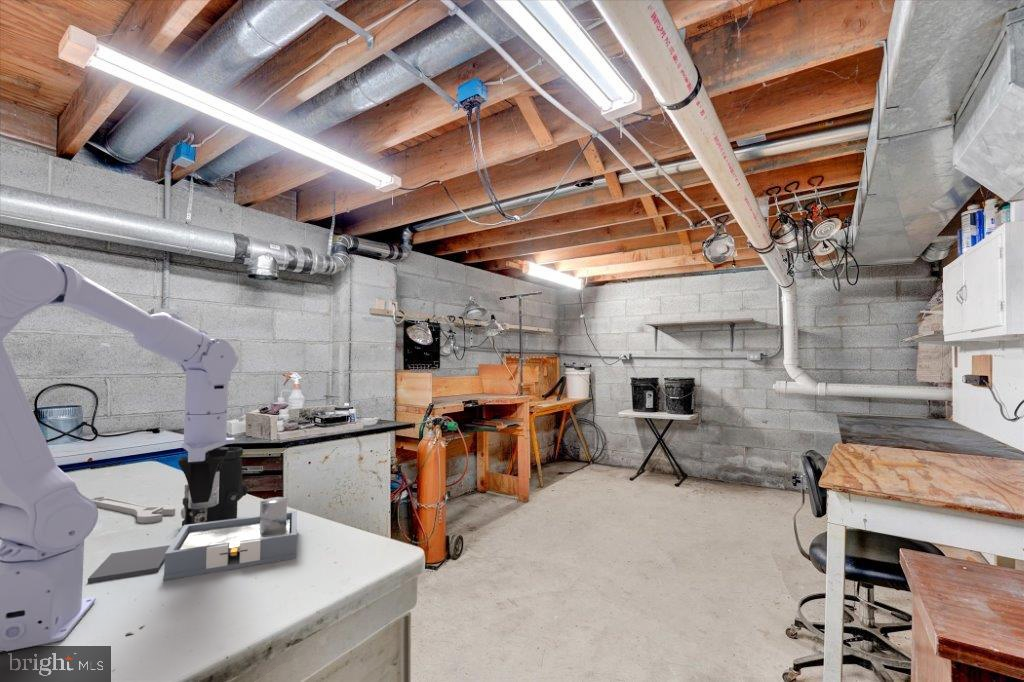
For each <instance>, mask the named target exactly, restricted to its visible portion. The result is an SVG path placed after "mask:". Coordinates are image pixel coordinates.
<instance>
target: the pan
mask: <svg viewBox="0 0 1024 682" xmlns="http://www.w3.org/2000/svg"><path fill="white" fill-rule="evenodd" d="M289 532H290V519H287V522H286V530H285V531H284V532H281V533H279V534H274V535H262V534H260V523H254V524H247V525H239V526H232V527H224V528H216V529H209V530H201V531H194V532H190V533H189V535H188V537H187V538H186V540H185V542H184V543H183V545H182V546H181V548H180V549H187V548H194V547H201V546H208V545H215V544H222V543H228V542H229V553H231V556H235V555H237V553H238V552H240V541H242V540H249V539H256V538H263V537H270V536H277V535H284V534H289Z"/></svg>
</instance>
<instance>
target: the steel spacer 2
mask: <svg viewBox="0 0 1024 682" xmlns="http://www.w3.org/2000/svg"><path fill="white" fill-rule="evenodd" d="M259 507H260V509H259V516H260V534H262V535H274V534H279V533H281V532H284V531H285V530H286V522H287V512H288V509H287V508H288V498H286V497H285V496H284V497H282V496H275V497H268V498H265V499H262V500H261V501H260V505H259Z"/></svg>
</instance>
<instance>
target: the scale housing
mask: <svg viewBox="0 0 1024 682" xmlns="http://www.w3.org/2000/svg"><path fill="white" fill-rule="evenodd" d="M297 517H298V511H297V510H294V511H293V510H292V511H287V519H290V532H289V534H284V535H277V536H270V537H263V538H256V539H249V540H242V541H240V552H238V553H237V555H235V556H231V553H229V542H228V543H222V544H215V545H208V546H201V547H194V548H187V549H180V548H181V546H182V545H183V543H184V542H185V540H186V538H187V537H188V535H189V533H190V532H194V531H201V530H209V529H216V528H224V527H232V526H239V525H247V524H254V523H260V515H254V516H253V515H251V516H245V517H239V518H238V517H237V518H236V519H228V520H220V521H212V522H204V523H196V524H188V525H184V526H183V527H182V526H181V529H180V531H178V533H177V534H176V536H175V538H174V539H173V540H172V542H171V543H170V544H169V545H170V547H169V548H168V550H167V551H166V553H165V561H164V563H163V565H164V567H163V576H162V577H163V578H162V581H167V580H173V579H179V578H185V577H191V576H197V575H202V574H204V575H205V574H211V573H216V572H221V571H227V570H232V569H233V570H234V569H238V568H239V569H240V568H246V567H251V566H257V565H262V564H269V563H276V562H281V561H286V560H287V561H288V560H293V559H297V544H298V543H297V540H298V539H297V536H298V533H297V531H298V528H297V527H298V525H297V524H298V523H297V521H298V520H297V519H298V518H297Z"/></svg>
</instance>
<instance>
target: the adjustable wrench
mask: <svg viewBox="0 0 1024 682" xmlns="http://www.w3.org/2000/svg"><path fill="white" fill-rule="evenodd" d="M90 499H91V500H92V501H93V502H94V503H95V504H96V506H97V508H102V509H106V510H110V511H115V512H119V513H123V514H128V515H132V516H135V517H136V522H137V523H138V524H139V523H140V524H153V523H158V522H162V521H163V516H172V517H173V516H175V515H176V507H175V506H174V505H170V504H162V505H143V504H139V503H134V502H129V501H126V500H121V499H120V500H119V499H116V498H111V497H106V496H98V497H93V498H90Z"/></svg>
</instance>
